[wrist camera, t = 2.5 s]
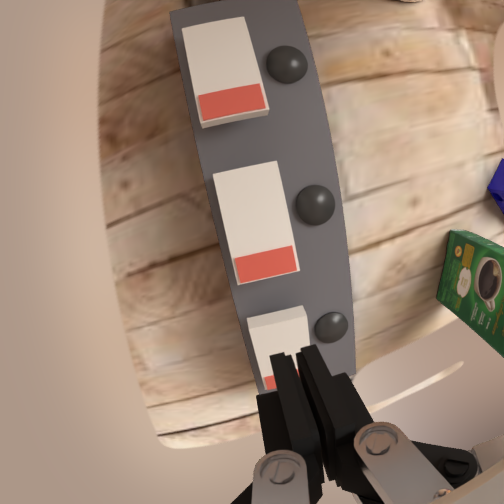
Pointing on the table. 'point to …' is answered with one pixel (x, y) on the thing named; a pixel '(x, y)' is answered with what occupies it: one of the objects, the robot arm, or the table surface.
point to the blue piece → (498, 186)
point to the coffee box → (475, 285)
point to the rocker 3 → (278, 338)
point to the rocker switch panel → (282, 176)
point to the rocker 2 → (256, 222)
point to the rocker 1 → (224, 72)
